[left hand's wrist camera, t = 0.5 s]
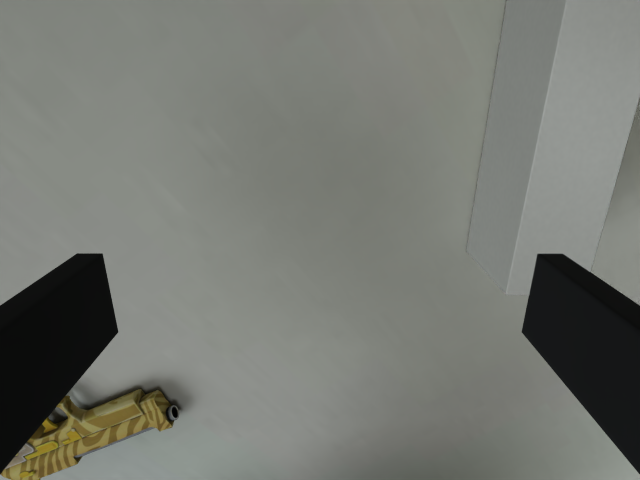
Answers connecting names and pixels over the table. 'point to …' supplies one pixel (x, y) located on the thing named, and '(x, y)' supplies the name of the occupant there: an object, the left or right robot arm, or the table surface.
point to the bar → (554, 134)
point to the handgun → (89, 432)
